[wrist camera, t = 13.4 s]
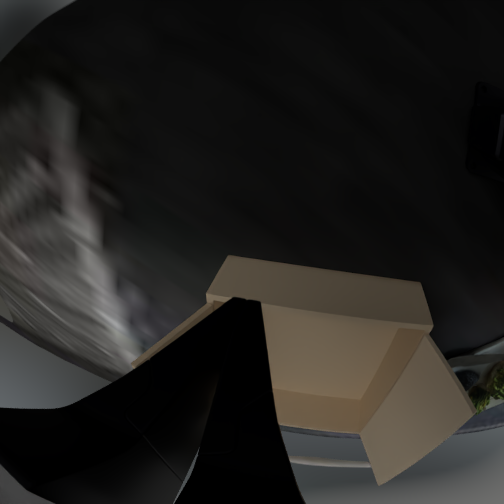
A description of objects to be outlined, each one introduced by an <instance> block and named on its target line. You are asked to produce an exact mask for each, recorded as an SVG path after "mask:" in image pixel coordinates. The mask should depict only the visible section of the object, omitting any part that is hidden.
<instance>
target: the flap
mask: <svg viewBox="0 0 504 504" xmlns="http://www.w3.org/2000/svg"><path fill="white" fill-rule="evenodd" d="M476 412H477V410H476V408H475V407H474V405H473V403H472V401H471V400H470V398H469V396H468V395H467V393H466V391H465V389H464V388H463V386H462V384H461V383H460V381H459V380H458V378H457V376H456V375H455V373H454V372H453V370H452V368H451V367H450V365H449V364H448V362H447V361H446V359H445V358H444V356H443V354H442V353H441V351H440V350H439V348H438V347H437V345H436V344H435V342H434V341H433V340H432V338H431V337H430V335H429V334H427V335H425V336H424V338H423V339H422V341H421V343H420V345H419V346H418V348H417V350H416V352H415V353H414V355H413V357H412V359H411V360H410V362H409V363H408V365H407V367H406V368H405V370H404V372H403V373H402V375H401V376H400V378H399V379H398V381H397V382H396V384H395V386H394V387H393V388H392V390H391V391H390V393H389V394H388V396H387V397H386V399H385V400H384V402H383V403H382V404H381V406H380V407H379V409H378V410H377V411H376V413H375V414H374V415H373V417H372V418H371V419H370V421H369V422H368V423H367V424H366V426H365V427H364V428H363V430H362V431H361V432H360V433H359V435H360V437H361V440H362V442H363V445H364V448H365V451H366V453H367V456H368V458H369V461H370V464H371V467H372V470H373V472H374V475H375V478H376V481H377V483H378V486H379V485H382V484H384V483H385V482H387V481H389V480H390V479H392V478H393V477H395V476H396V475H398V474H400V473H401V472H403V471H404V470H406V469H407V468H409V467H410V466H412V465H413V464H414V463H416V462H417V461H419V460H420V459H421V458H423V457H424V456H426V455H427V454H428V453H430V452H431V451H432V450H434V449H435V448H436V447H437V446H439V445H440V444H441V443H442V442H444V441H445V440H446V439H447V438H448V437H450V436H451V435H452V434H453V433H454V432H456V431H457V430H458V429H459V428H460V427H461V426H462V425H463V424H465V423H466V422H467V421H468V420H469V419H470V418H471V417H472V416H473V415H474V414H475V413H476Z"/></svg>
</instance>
